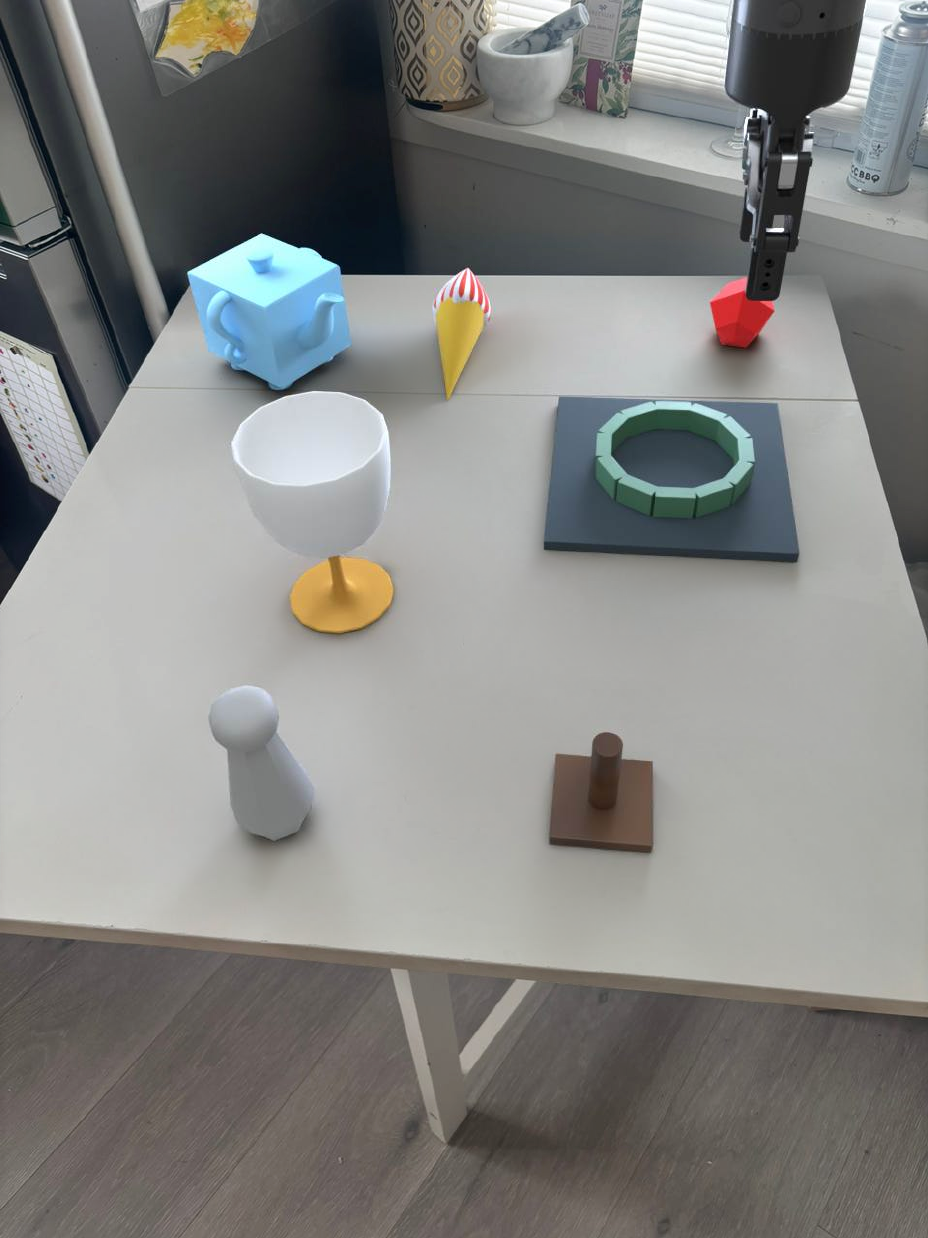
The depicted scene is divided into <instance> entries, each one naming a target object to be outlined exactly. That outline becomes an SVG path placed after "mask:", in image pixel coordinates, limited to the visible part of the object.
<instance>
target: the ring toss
mask: <svg viewBox="0 0 928 1238" xmlns="http://www.w3.org/2000/svg"><path fill="white" fill-rule="evenodd" d="M591 743H592V745H591V755H584V754H583V755H582V754H567V753H555V760H554V774H553V784H552V785H553V787H552V798H551V799H552V800H551V813H550V826H549V838H548V839H549V840H548V842H549V845H554V846H555V845H556V846H565V847H578V848H579V847H580V848H591V849H602V850H612V851H613V850H614V851H624V852H625V851H626V852H637V853H649V854H652V853H653V847H654V844H653V843H654V819H653V818H654V810H653V809H654V804H653V803H654V797H653V795H654V793H653V792H654V783H653V782H654V781H653V780H654V775H653V774H654V773H653V770H654V769H653V767H654V766H653V763H654V762H653V760H647V759H636V758H635V759H634V758H623V749H624V743H623V740H622V739H621V737H620V736H619V735H618V734H616V733H613V732H611V731H603V732H599V733H598V734H596V735H595V736H594V737H593V740H592V742H591Z"/></svg>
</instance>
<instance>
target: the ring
mask: <svg viewBox="0 0 928 1238" xmlns="http://www.w3.org/2000/svg"><path fill="white" fill-rule="evenodd" d="M654 429H668V430H688V431H690V432H693V433H696V434H698V435H701V436H704V437H706V438H709V439H712V440H714V441H716V442H717V443H718V444H719V445H720V446H721V447H722V448H723V449H724V450H725V451H726V452H727V453H728V454H729V455H730V456H731V457H732V458H733V459H734V467H733V468H732V469H731V470H730V472H729V473H728V474H727V475H726V476H725V477H724V478H723V479H720V480H717V481H714V482H711V483H708V484H705V485H702V486H699V487H696V488H674V487H657V486H654V485H652V484H649V483H647V482H644V481H642V480H640V479H637V478H635V477H632V476H630V475H627V474H626V473H625V471H624V470H623V469H622V468H621V467H620V466H619V464H618V463H617V462H616V461H615V460H614V459H613V457H612V456H611V453H612V452H613V451H614V450H615V449H616V448H617V447H618V446H619V445H620V444H621V443H622V442H623V441H624V440H625V439H626V438H628V437H631V436H634V435H638V434H641V433H644V432H647V431H650V430H654ZM754 464H755V458H754V449H753V440H752V438H751V436H750V435H749V434H748V433H747V432H746V431H745V430H744V429H743V428H742V427H741V426H740V425H739V424H738V423H737V422H736V421H735V420H734V419H733V418H732V417H731V416H729V417H727V414H724V413H721V412H719V411H716V410H713V409H710V408H708V407H705V406H702V405H699V404H696V403H694V404H693V406H692V407H691V402H668V401H655V405H654V404H653V403H652V402H648V403H645V404H642V405H638V406H635V407H632V408H628V409H625V410H622V411H620V413H616V414H615V415H614V416H613V417H612V418H611V419H610V420H609V421H608V422H607V423H606V424H605V425H604V426H603V427H602V428H601V429H600V430H599V431H598V433H597V441H596V458H595V476H596V479H597V480H598V482H599V483H600V484H601V485H602V486H603V488H604V489H605V490H606V491H607V493H608V494H609V495H610V496H611V497H612V499H616V502H618V503H620V504H623V505H625V506H627V507H630V508H632V509H634V510H637V511H639V512H641V513H644V514H646V515H648V516H649V515H650V514H651V513H652V512H653V517H668V518H690V519H692V518H693V515H694V516H695V517H696V518H698V517H701V516H704V515H707V514H710V513H713V512H716V511H719V510H721V509H724V508H727V507H729V506H730V504H731V505H733V504H734V502H735V501H736V500H737V499H738V498H739V496H740V495H741V494H742V493H743V492H744V491H745V489H746V488H747V487H748V486H749V485H750V482H751V478H752V474H753V469H754Z"/></svg>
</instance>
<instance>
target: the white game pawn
mask: <svg viewBox="0 0 928 1238" xmlns="http://www.w3.org/2000/svg"><path fill="white" fill-rule="evenodd" d="M279 721H280V714H279V710H278V707H277V705H276V702H275V700H274V699H273V697H272V695H271V694H269V693H268V692H267V691H266V690H265V689H263V688H262V687H258V686H253V685H241V686H235V687H232V688H229V689H228V690H226V691H225V692H223V693H221V694H220V695H218V697H217V698H216V699H215V700H214V701H213V703H212V704H211V705H210V709H209V714H208V724H209V727H210V731H211V734H212V736H213V738H214V740H215V742H216V743H218V744H219V745H221V746H222V747H223V748H224V749H225V750H226V755H227V771H228V785H229V789H228V790H229V803H230V807H231V812H232V814H233V818H234V820H235V821H236V822H237V823H238V825H240V826H241V828H244V829H245V830H246V831H247V832H248V833H249V834H253V835H257V836H261V837H264V838H267V839H269V840H271V841H273V842H276V841H278V840H281V839H283V838H285V837H288V836H290V835H293V834H296V833H298V832H299V831H300V829H301V826H302V824H303V822H304V820H305V819H306V817H307V816H308V814H309V813H310V812H311V810H312V807H313V801H314V794H315V787H314V785H313V783H312V781H311V778H310V776H309V774H308V773H307V771H306V770H305V768H304V767H303V766H302V764H301V763H300V762H299V761H298V759H297V757H296V756H295V755H294V754H293V752H292V750H291V749H290V748H289V747H288V745H287V744H286V742H285V741H284V739H282V737H281V735H280V734H279V733H278V731H277V730H278V727H279Z"/></svg>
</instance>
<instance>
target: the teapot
mask: <svg viewBox="0 0 928 1238" xmlns="http://www.w3.org/2000/svg"><path fill="white" fill-rule="evenodd" d="M186 275H187V278H188V281H189V285H190V289H191V292H192V295H193V299H194V304H195V307H196V310H197V314H198V318H199V322H200V325H201V329H202V332H203V337H204V339H205V343H206V347H207V350H208V352H210V353H212V354H214V355H216V356H218V357H219V358H221V359H222V360H223V359H224V360H225V361H227V362H229V363H230V364H231V365H230V366H231V368H232V369H233V370H236V371H247V372H249V373H251V374H252V375H254V376H256V377H259V378H260V379H262V380H264V381H266V382H268V387H269V388H270V389H271V390H275V391H283V390H285V389H288V388H290V387H291V386H292V384H293V383H294V382H296V381H297V380H299V379H300V378H301V377H303V376H304V375H307V374H308V373H309V372H311V371H312V370H314V369H316V368H317V367H319V366H320V365H322V364H326V363H329V362H331V361H332V360H333V359H334V356H336V355H338V354H339V353H341V352H343V351H344V350H346V349H348V348H349V347H351V346H352V340H351V333H350V327H349V326H350V325H349V318H348V312H347V307H346V300H345V293H344V287H343V279H342V273H341V266H339V265H338V264H336V263H333V262H332V261H329V260H327V259H324V258H322V255H320V254H319V253H318V252H317V251H315V250H314V249H312V248H309V247H300V248H298V247H296V246H294V245H292V244H288V243H286V242H284V241H281V240H279V239H277V238H274V237H271V236H269V235H266V234H263V233H260V234H258V235H257V236H254V237H252V238H251V239H248V240H247V241H244V242H243V243H241V244H239V245H237V246H234V247H233V248H231V249H229V250H227V251H225V252H223V253H222V254H219V255H218V256H216V257H214V258H212V259H210V260H209V261H207V262H205V263H202V264H200V265H199V266H197V267H195V268H193V269H191V270H189V271H187V273H186Z"/></svg>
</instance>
